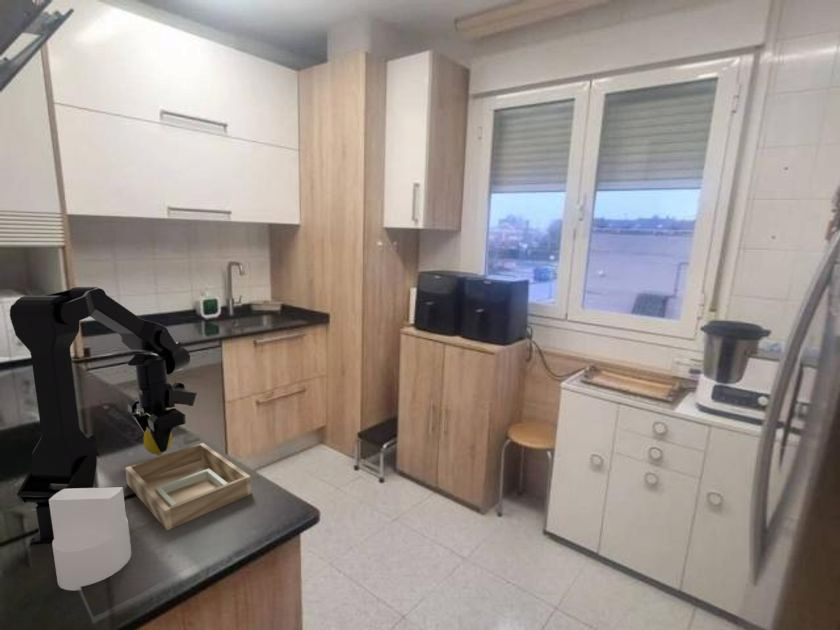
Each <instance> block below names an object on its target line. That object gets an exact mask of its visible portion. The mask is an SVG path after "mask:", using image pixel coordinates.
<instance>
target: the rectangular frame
mask: <svg viewBox="0 0 840 630" xmlns="http://www.w3.org/2000/svg"><path fill="white" fill-rule="evenodd" d="M206 478H208V479H209V480H210V481H212V482H213V483H214V484H215V485H216V486H218V487H220V486H222V485H225V484H227V482H226V481H225V480H223V479H222V478H221V477H219V476H218V475H217V474H216V473H214V472H213V471H212V470H210V469H209V468H208V469H206V470H203V471H200V472H197V473H195V474H192V475H189V476H187V477H184V478H181V479H178V480H176V481H173V482H170V483H167V484H165V485H162V486H159V487H156V488H155V493H156V494H157V495H158V496H159V497H160V499H161V500H162V501H163V502H164V503H165V504H166V505H167V506H168V507H170V506H172V505H175V504H176V503H175V502H174V500H173V499H172V498H171V497H170V496H169V495H168V494H167V493H169V492H171V491H174V490H176V489H179V488H182V487H184V486H187V485H190V484H192V483H195V482H198V481H200V480H203V479H206Z"/></svg>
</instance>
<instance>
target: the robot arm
mask: <svg viewBox="0 0 840 630" xmlns="http://www.w3.org/2000/svg"><path fill="white" fill-rule="evenodd" d="M9 318H10V321H11V324H12V328H13V330H14V331H13V332H14V334H15V336H16V337H17V338H18V339H19V341H20V342H21V343H22V344H23V345H24V346H25V348H27V350H28V351H29V353H30V358H31V363H32V372H33V373H32V374H33V380H34V389H35V393H36V395H35V396H36V403H37V410H38V417H39V424H40V433H41V436H40V438H39V441H38V442H37V444H36V446H35V447H34V449H33V451H32V453H31V454H32V455H31V468H30V470H29V471H28V473H27V475H26V477H25V479H24V481H23V482H22V483H21V484H22V485H21V486H20V487H19V489H18V491H17V493H16V496H17V498H18V499H19V500H20V502H21V503H22V504H27V503H35V504H36V506H35V513H36V520H37V521H36V522H37V525H38V531H37V532H36V533H35V534H34V535H33V536H32V537H31V538H30V539H29V540H28V541H29V544H30V545H32V544H41V543H42V544H43V543H49V542H50V543H51V542H53V540H54V534H53V527H52V520H51V513H50V506H49V499H50V498H51V497H52V496H53V495H55V494H56V493H58V492H59V491H61V490H63V489H72V488H94V483H95V478H96V476H95V475H96V472H97V463H98V461H97V457H99V456H100V453H99V452H98V448H97V437H96V435H95V434H92V433H91V434H90V433H89V434H88V433H87V434H86V433H84V432H83V431H82V430H81V428H80V421H79V413H78V405H77V398H76V389H75V381H74V380H75V379H74V372H73V364H72V355H71V347H72V344H73V343H74V341H75V339H76V337H77V335H78V334H79V332H80V321H83V320H85V319H87V318H92V319H94V320H95V321H97V322H98V323H100V324H102V325H104V326H105V327H107V328H108V329H110V330H112V331H113V332H115V333H117V334H118V335H119V336H120V338H121V342H122V343H123V344H124V345H125V346H126V347H127V348H128V349H129V350H131V351H134V352H140V353H135V354H134V356H133V357H132V358H131V359H130V360H129V361H128V363H127V366H129V367H131V366H132V367H135V373H136V375H135V376H136V382H137V383H136V385H134V391H135V392H137V395H138V396H136V397H132V398H130V400H128V401H127V403H126V404H127V411H128V412H129V413H130V414H132V417H133V419H134V420H135V421H136V424H138V426H139V428H140V429H141V431H142V432H143V433H145V431H146V429H148V431H149V433H150V435H151V436H152V438H153V440H154V442H155V443H156V445H157V447H158V449H159V450H160V452H163V453H164V451H165V452H166V451H168V449H167V446H168V442H169V437H170V434H171V433H172V430H173V429H174V428H175V427H178V426H183V425H185V424H186V421H187V420H186V414H185V413H183V412H182V411H180V410H178V409H177V408H175V407H176V405H182V406H183V405H186V406H189V407H193V406H194V405H195V401H196V397H197V394H198V393H197V391H195V390H194V389H190V388H188V387H186V386H185V383H183V382H180V381H175V382H174V383H173V384H171V383H169V381H168V376H169V375H171V374H174V373H175V372H178V371H179V370H182V369H185V368H186V367H187V366H189V364H190V361H191V355H190V354H189V352H188V350H187V349H186V348H185V347H183V346H182V342H181V341H175V339H174V338H173V337H172V335H171V333H170V331H169V329H168V328H167V327H166V326H165V325H163V324H161V323H158V322H155V321H152V320H146V319H144V318H142V317H139V316H138V315H136V314H135V313H133V312H132V311H131V310H129V309H128V308H126V307H125V306H123V305H122V304H121V303H119V302H118V301H116V300H115V299H113V298H112V297H111V296H109V295H108V294H106V291H105V290H104V289H103V288H99V287H98V286H74V287H72V288H68V289H66V290H62V291H58V292H52V293H47V294H42V295H24V296H20V297H19V298H18V299H16V300H15V302H14V303H13V304H12V305H11V306H10V309H9ZM167 408H169V409H167ZM135 412H136V413H135Z"/></svg>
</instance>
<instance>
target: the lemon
mask: <svg viewBox="0 0 840 630" xmlns="http://www.w3.org/2000/svg"><path fill="white" fill-rule="evenodd" d="M143 433H144V432H143ZM172 433H173V432H171V434H170V437H169V442H168V446H167V450H168V449H169V448H170V447H171V445H172V442H173V434H172ZM143 445H144V448H145V450H146V451H147V452H149V453H150V454H153V455H156V456H157V457H160V456H162V454H163V453H164V452H166V451H164V452H160V450H159V449H158V447H157V445H156V443H155V442H154V440H153V438H152V436H151V435H150V433H149V431H148V429H146V431H145V433H144V435H143Z"/></svg>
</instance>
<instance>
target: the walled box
mask: <svg viewBox="0 0 840 630" xmlns="http://www.w3.org/2000/svg"><path fill="white" fill-rule="evenodd" d="M208 468H209V469H210V470H212V471H213V472H214V473H216V474H217V475H218V476H219V477H221V478H222V479H223V480H225V481H226V482H227V484H225V485H222V486H220V487H218V486H216V485H215V484H214V483H213V482H212V481H210V480H209V479H208V478H206V479H203V480H200V481H198V482H195V483H192V484H190V485H187V486H184V487H182V488H179V489H176V490H174V491H171V492H169V493H167V494H168V495H169V496H170V497H171V498H172V499H173V500H174V502H175V503H176V504H175V505H172V506H170V507H168V506H167V505H166V504H165V503H164V502H163V501H162V500H161V499H160V497H159V496H158V495H157V494H156V493H155V488H156V487H159V486H162V485H165V484H167V483H170V482H173V481H176V480H178V479H181V478H184V477H187V476H189V475H192V474H195V473H197V472H200V471H203V470H206V469H208ZM124 469H125V478H126V485H127V486H128V487H129V488H130V489H131V490H132V492H133V493H134V494H135V495H136V496H137V497H138V498H139V500H140V501H141V502H142V504H144V505H145V507H146V508H147V509H148V510H149V511H150V512H151V513H152V515H153V516H154V517H155V518H156V519H157V521H158V522H159V523H160V524H161V525H162V527H163V528H164V529H165V530H166V531H168V530H169V531H170V530H171V529H173V528H176V527H179V526H180V525H183V524H184V523H185V524H186V523H187V522H190V521H192V520H194V519H197V518H199V517H201V516H203V515H205V514H208V513H210V512H212V511H215V510H217V509H219V508H222V507H224V506H226V505H229V504H231V503H233V502H235V501H238V500H240V499H243V498H244V497H247V496H249V495H252V494H253V492H252V490H253V489H252V477H251V475H250V474H248V473H247V472H245V471H244V470H242V469H241V468H239V467H238V466H237V465H235V464H234V463H232V462H231V461H230V460H228V459H227V458H225V457H224V456H223V455H221V454H220V453H219V452H217V451H215V450H213V449H212V448H211V447H209V446H208V444H207V445H206V444H205V443H204V442H200V443H198V444H195V445H192V446H188V447H185V448H182V449H179V450H176V451H173V452H169V453H166V454H164V455H159V456H157V457H154V458H150V459H148V460H144V461H142V462H138V463H135V464H132V465H129V466H126V467H125V468H124Z"/></svg>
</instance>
